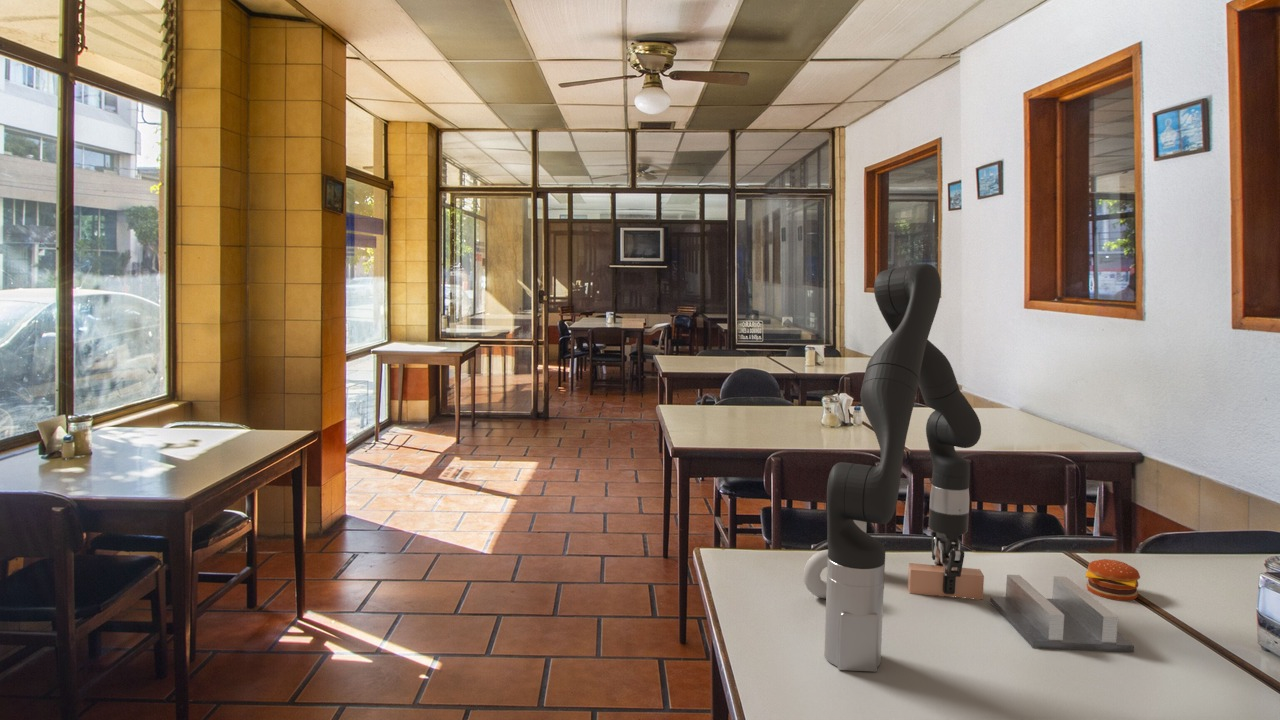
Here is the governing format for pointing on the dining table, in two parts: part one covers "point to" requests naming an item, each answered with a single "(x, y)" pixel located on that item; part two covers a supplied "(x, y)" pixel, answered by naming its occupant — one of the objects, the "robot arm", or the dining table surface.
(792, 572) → the dining table surface
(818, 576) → the donut
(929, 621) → the dining table surface
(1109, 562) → the hamburger
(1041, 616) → the aluminium rail channel
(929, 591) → the clay strip
